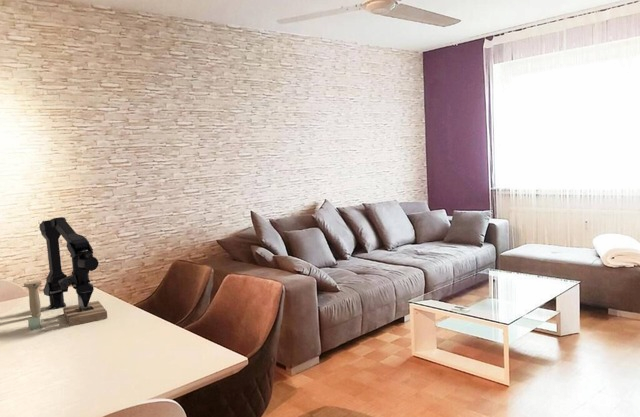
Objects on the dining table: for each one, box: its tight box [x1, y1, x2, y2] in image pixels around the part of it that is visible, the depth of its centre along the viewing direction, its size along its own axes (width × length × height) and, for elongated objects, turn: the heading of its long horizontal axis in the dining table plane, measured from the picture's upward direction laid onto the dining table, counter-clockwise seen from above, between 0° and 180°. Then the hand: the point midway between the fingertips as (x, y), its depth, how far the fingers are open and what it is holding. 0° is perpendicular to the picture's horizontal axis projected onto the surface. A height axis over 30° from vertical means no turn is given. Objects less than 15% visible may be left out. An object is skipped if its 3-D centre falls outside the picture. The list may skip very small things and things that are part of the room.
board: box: [62, 300, 108, 327], centre depth 203 cm, size 20×14×3 cm
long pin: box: [77, 294, 90, 312], centre depth 203 cm, size 4×4×10 cm
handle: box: [23, 280, 42, 318], centre depth 205 cm, size 5×6×15 cm
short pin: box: [27, 316, 42, 331], centre depth 191 cm, size 4×4×4 cm
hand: (83, 304), depth 203 cm, fingers open, 9 cm apart
